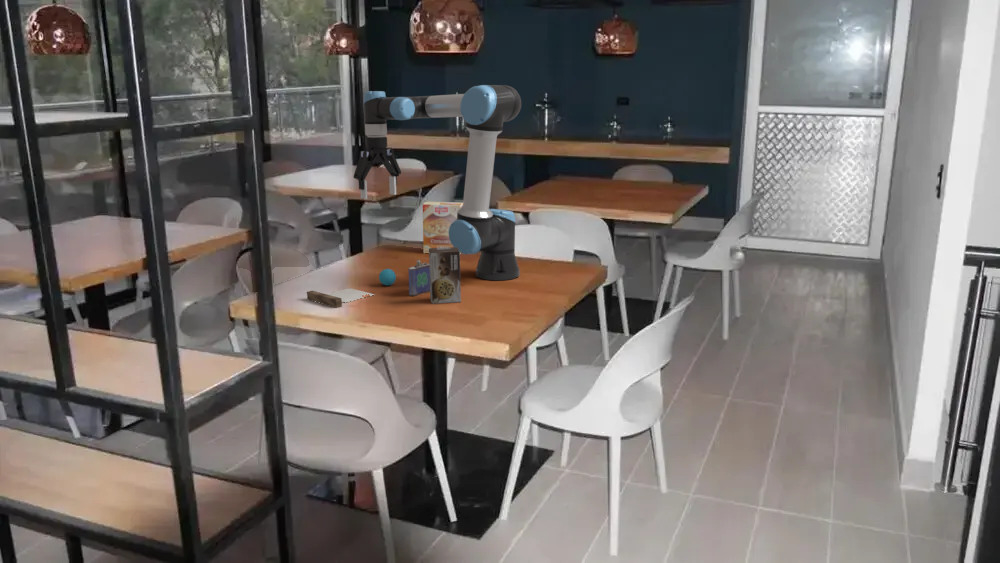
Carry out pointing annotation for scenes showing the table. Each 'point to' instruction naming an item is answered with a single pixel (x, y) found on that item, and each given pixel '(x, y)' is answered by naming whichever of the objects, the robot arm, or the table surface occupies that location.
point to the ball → (387, 277)
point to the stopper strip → (324, 298)
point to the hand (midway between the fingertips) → (378, 196)
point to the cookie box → (444, 275)
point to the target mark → (349, 294)
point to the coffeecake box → (438, 223)
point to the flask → (419, 279)
